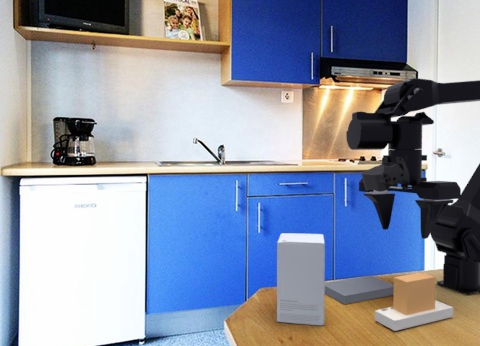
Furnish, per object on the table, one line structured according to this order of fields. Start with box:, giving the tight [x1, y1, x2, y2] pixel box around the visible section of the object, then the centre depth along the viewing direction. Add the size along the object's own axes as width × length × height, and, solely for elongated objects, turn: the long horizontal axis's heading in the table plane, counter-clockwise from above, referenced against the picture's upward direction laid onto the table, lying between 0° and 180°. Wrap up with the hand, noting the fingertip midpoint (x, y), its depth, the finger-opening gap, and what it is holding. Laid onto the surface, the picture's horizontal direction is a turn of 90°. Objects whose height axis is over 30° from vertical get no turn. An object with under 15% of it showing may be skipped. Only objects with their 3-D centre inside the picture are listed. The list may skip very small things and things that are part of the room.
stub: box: [374, 272, 454, 332], centre depth 58 cm, size 12×4×6 cm, turn 113°
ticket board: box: [325, 275, 394, 305], centre depth 70 cm, size 12×7×2 cm, turn 113°
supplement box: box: [276, 232, 326, 326], centre depth 60 cm, size 7×7×13 cm
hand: (403, 233), depth 70 cm, fingers open, 9 cm apart
